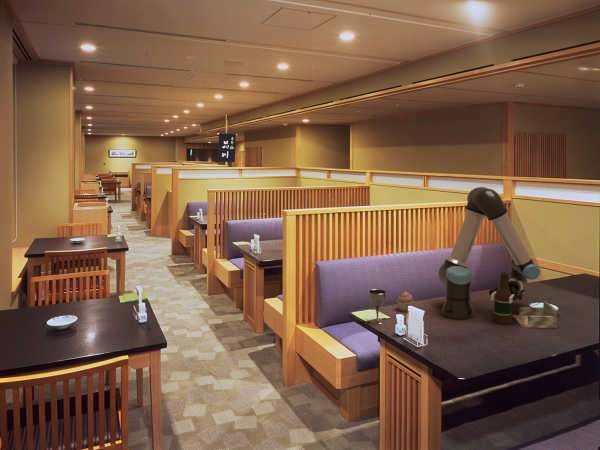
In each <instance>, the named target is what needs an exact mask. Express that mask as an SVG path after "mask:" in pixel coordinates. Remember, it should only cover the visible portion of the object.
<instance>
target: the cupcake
mask: <svg viewBox="0 0 600 450" xmlns="http://www.w3.org/2000/svg"><path fill="white" fill-rule="evenodd" d="M396 303H397V304H398V310H399V311H401V312H404V313H405V312H409V311H408V310H407V309H408V306H409V305H413V306H414V305H415V303H416V302H415V300H414V299H413V295H412V294H410V293H409V292H408V291H406V290H404V292H402V293H401V294H400V295H399V296H398V299H396Z"/></svg>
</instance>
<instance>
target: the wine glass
mask: <svg viewBox="0 0 600 450" xmlns="http://www.w3.org/2000/svg"><path fill="white" fill-rule="evenodd" d="M386 294H387V292H386V290H384V289H379V288H377V289H376V288H374V289H370V290H368V297H369V302H370V304H371V305H372V306H373V307H374V309H375V313H376V318H372V319H370V320H369V322H370V323H371V324H374V325H382V324H384V323H385V322H386V321H385V320H384V319H382V318H379V311H380V309H381V308H382V306H383V305H385V302H386V299H387V298H386V297H387V295H386Z"/></svg>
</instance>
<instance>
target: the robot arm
mask: <svg viewBox="0 0 600 450" xmlns="http://www.w3.org/2000/svg"><path fill="white" fill-rule="evenodd" d="M466 200H467V204H466V206H465V208H464V209H465V212H466V214H465V217H464V220H463V222H462V225H461V228H460V230H459V232H458V235H457V237H456V239H455V243H454V245H453V248H452V251H451V253H450V255H449V256H447V257H446V258H445V261H444V263H442V264H441V266H440V267H439V269H438V277H439V280H440V281H441V283H443V284H444V285H445V299H444V303H443V305H442V308H441V315H442V316H444V317H446V318H449V319H453V320H469V319H470V320H471V319H473V317H474V307H473V305H472V302H471V301H472V300H471V289H472V284H471V283H472V272H471V270H470V269H468V267H469V265H468V264H467V261H468V259H469V257H470V254H471V251H472V249H473V246H474V244H475V242H476V239H477V236H478V234H479V232H480V230H481V226H482V224H483V222H484V219H486V218H487V220H488V221H490V222H492V224H493V226H494V228H495V230H496V231H497V233H498V235H499V236H500V238H501V241H502V242H503V244H504V245H505V247H506V249H507V251H508V252H509V255H510V272H509V273H510V274H509V279H508V288H509V291H510V292H511V294H512V295H511V296H510V297H509V303H510V304H511V303H512V304H513V303H514V302H516V301H517V300H519V301H522V300H523V297H524V296H526V295H525V294H526V292H525V291H526V290H525V289H526V287H527V285H528V281H529V280H531V281H533V280H536V279H538V278H539V277H540V275H541V270H540V267H538V265H536V264H535V262H534V261H533V259H532V257H531V255H530V254H529V251H528V249H527V248H526V246H525V245H524V243H523V241H522V239H521V237H520V236H519V234H518V232H517V230H516V228H515V227H514V226H515V225H514V224H513V223H512V221H511V219H510V217H509V215H508V213H509V211H508V209H507V207H506V206H505V204H504V201H503V200H502V198H501V196H500V194H499V193H498V192H497V191H495V190H494V189H491V188H488V187H484V186H478V187H474V188H472V189H471V190H470V191H469V193H468V194H467V198H466ZM499 287H500V286H498V285H495V287H493V288H490V289H489V291H488V296H490V301H495V295H496V293H497V291H498V290H499Z"/></svg>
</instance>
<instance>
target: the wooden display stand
mask: <svg viewBox="0 0 600 450" xmlns="http://www.w3.org/2000/svg"><path fill="white" fill-rule="evenodd" d="M518 311H519V312H518V314H512V318H513V319H514V321H515V322H516V323H517V324H518V325H519V326H520V327H521V328H528V329H529V328H533V329H535V328H536V329H538V328H540V329H541V328H542V329H557V328H558V325H557V324H558V310H557V308H555V307H554V306H552V305H551V304H550V303H549V302H547V301H543V304H542V307H536V306H534V307H532V306H530V307H529V306H527V307H525V306H520V307H519V309H518Z"/></svg>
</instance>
